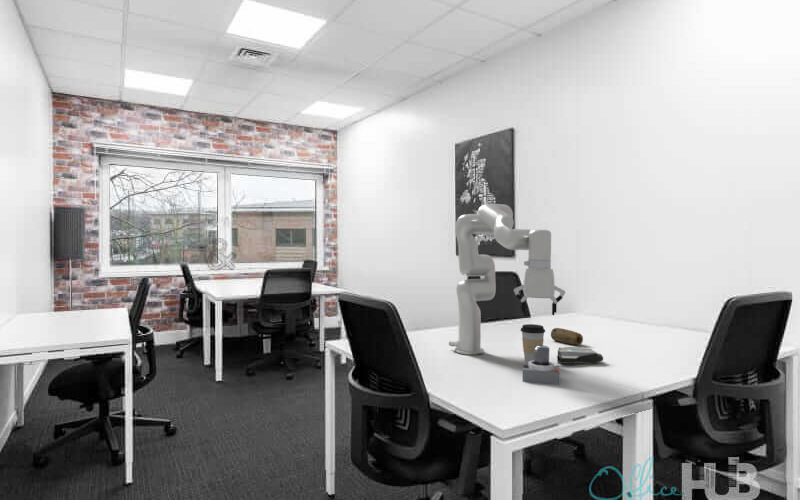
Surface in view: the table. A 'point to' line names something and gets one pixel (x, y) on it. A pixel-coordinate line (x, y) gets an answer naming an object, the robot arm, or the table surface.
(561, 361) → the grey plastic handled piece
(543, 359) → the lens
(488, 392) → the table surface
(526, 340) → the coffee cup
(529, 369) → the camera body
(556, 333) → the brown wooden cylinder
